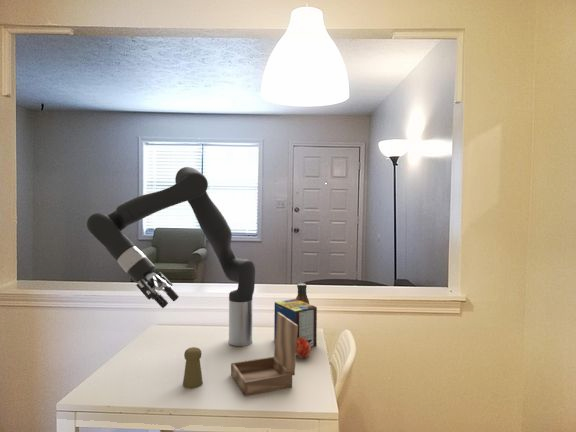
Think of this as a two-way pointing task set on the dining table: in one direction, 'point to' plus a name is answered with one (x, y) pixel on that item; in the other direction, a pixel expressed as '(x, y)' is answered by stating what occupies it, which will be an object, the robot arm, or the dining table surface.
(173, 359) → the dining table surface
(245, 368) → the walnut box
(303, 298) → the sauce bottle
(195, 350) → the olive tapered rounded piece
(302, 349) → the pomegranate
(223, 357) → the dining table surface
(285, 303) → the protein box
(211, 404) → the dining table surface
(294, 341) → the box lid
